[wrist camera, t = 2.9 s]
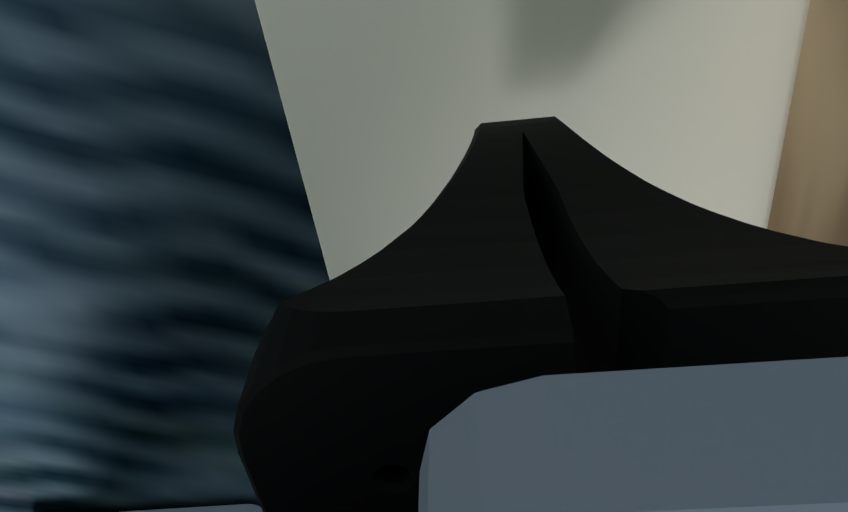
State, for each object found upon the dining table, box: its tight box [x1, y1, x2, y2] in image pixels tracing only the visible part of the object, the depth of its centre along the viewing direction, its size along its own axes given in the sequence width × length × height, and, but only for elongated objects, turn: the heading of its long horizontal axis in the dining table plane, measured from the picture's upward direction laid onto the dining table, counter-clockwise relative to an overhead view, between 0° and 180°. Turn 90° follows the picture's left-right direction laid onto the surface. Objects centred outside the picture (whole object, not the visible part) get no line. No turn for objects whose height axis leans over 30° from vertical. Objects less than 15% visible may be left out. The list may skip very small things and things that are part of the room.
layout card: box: [255, 0, 810, 280], centre depth 18 cm, size 26×24×1 cm
